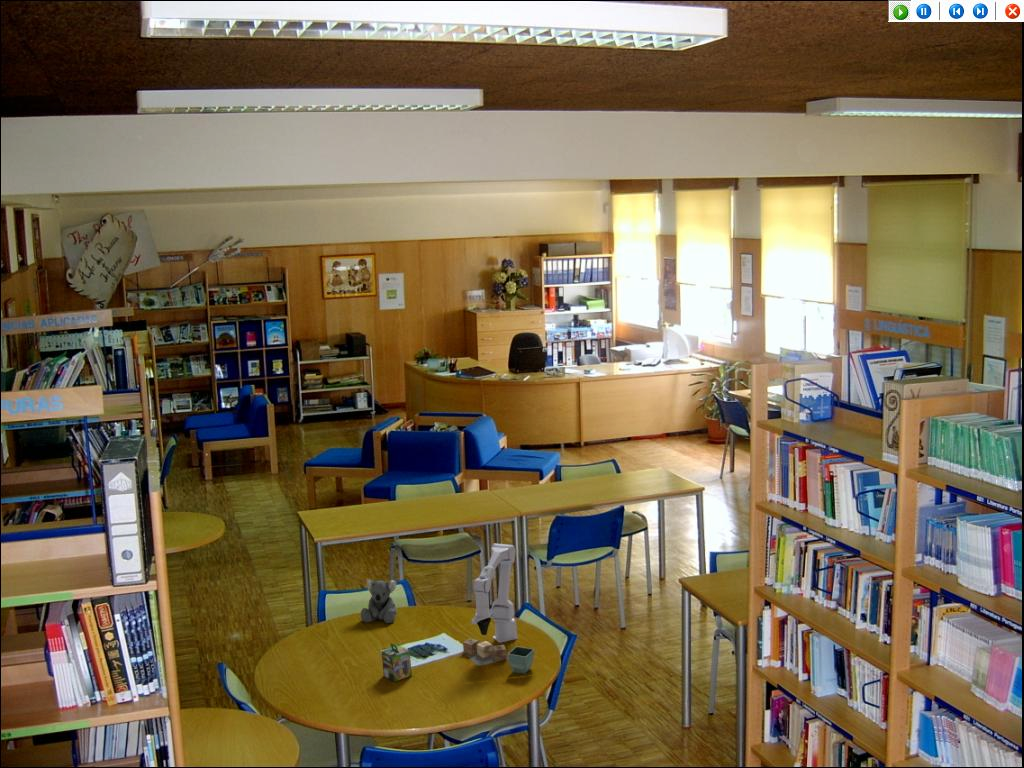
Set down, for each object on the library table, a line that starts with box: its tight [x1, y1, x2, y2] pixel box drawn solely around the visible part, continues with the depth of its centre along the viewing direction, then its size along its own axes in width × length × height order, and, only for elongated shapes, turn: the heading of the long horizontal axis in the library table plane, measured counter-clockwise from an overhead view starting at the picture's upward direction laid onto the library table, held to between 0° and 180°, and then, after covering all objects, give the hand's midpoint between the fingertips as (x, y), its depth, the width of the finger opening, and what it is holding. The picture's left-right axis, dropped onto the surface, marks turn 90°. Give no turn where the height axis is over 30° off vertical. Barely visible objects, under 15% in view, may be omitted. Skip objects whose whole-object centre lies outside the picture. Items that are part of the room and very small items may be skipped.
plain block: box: [477, 640, 493, 658], centre depth 482 cm, size 5×5×5 cm
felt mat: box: [462, 644, 509, 667], centre depth 482 cm, size 15×18×1 cm
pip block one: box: [493, 644, 507, 662], centre depth 477 cm, size 5×5×5 cm
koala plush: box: [360, 578, 397, 624], centre depth 532 cm, size 17×18×20 cm
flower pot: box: [507, 646, 535, 674], centre depth 464 cm, size 9×9×9 cm
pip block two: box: [462, 638, 480, 655], centre depth 486 cm, size 5×5×5 cm
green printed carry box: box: [381, 642, 413, 683], centre depth 464 cm, size 9×9×15 cm
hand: (484, 634), depth 481 cm, fingers closed
